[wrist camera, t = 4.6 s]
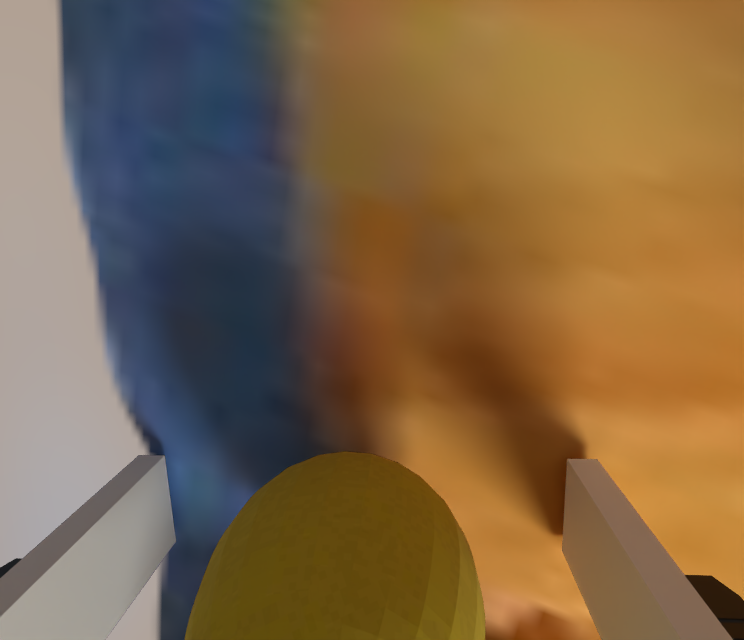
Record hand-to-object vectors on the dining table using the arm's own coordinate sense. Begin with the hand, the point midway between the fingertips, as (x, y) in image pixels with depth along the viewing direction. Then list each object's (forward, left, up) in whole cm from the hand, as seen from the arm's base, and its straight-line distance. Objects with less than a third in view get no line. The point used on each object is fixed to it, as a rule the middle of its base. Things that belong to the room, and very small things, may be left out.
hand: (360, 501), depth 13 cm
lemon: (0, 0, 0) cm, 0 cm away
